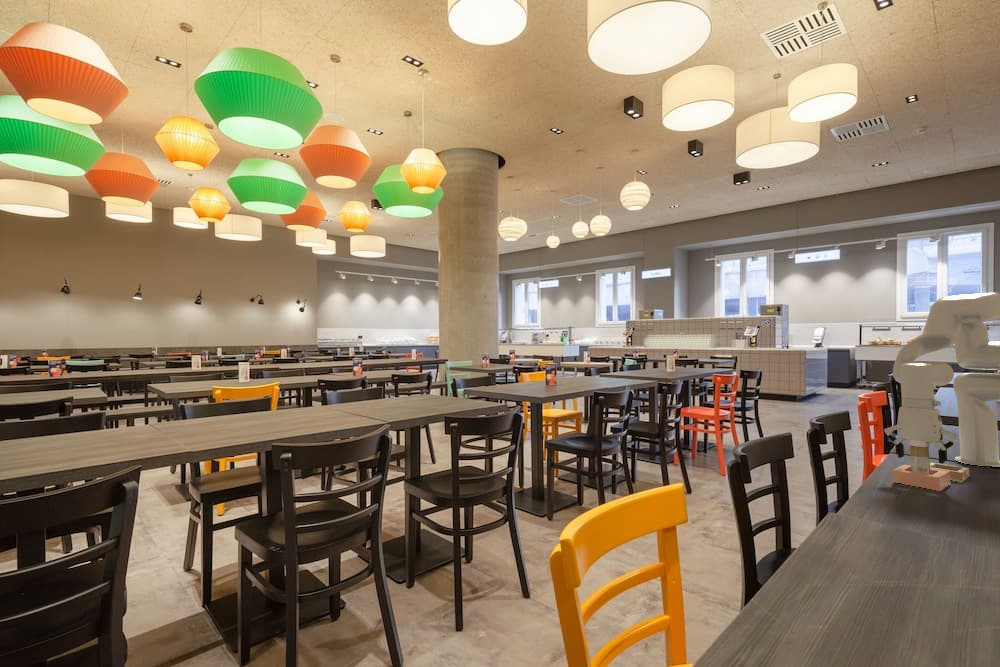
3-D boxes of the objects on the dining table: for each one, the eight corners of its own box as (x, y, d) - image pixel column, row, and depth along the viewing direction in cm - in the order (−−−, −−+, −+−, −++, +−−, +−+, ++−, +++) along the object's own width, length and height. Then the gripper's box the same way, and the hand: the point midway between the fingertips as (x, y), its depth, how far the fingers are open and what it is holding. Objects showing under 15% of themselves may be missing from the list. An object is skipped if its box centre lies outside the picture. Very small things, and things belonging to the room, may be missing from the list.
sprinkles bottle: (931, 483, 145) (929, 439, 145) (930, 486, 141) (928, 441, 142) (912, 480, 148) (909, 437, 148) (910, 483, 145) (908, 439, 145)
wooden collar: (932, 471, 157) (931, 462, 157) (969, 477, 150) (969, 467, 150) (923, 476, 152) (923, 466, 152) (962, 482, 145) (961, 472, 145)
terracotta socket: (904, 476, 152) (904, 464, 152) (950, 484, 143) (949, 471, 143) (893, 483, 146) (892, 470, 146) (939, 491, 137) (939, 477, 137)
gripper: (959, 404, 140) (963, 463, 140) (887, 400, 154) (890, 453, 154) (952, 407, 136) (956, 467, 136) (878, 402, 150) (881, 456, 150)
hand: (921, 459), depth 145 cm, fingers open, 9 cm apart
